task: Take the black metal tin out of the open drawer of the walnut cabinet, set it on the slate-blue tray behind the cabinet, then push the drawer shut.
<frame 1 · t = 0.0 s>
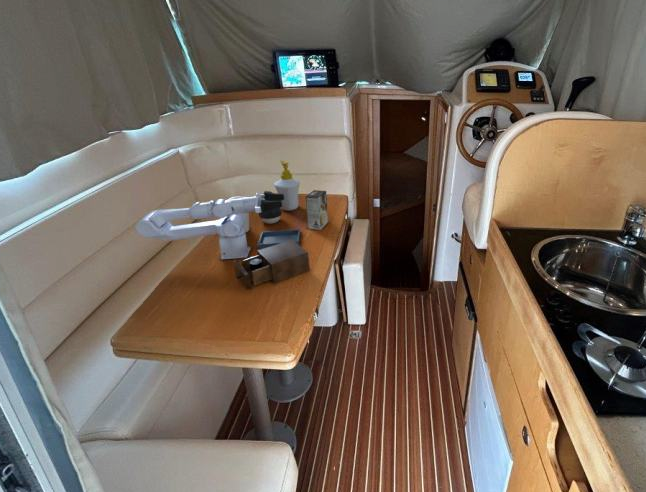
hand: (283, 200, 138), 22 cm above the table, tool horizontal, fingers open, 7 cm apart
coffee cup: (241, 230, 162), on the table
coffee box: (318, 225, 169), on the table
spice tin: (257, 274, 126), point 2 cm above the table, touching drawer
soap bottle: (289, 208, 188), on the table
cabinet: (284, 269, 132), on the table
tray: (280, 240, 154), on the table
drawer: (256, 269, 125), point 4 cm above the table, slide at 7.5 cm, touching spice tin
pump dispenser: (271, 221, 172), on the table
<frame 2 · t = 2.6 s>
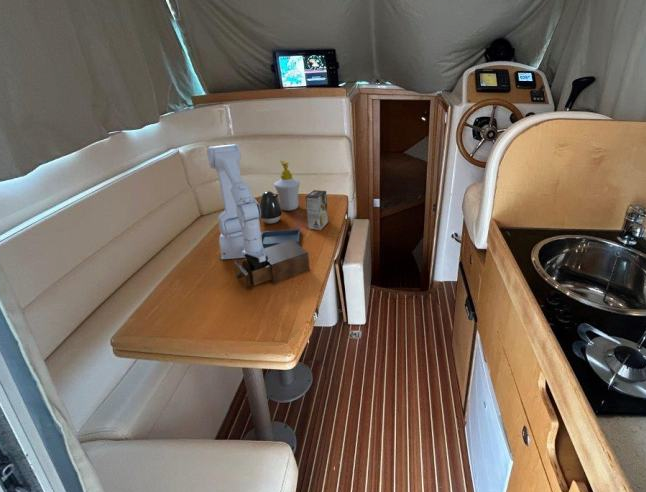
hand: (257, 271, 125), 3 cm above the table, tool pointing down, fingers open, 5 cm apart
drawer: (256, 269, 125), point 4 cm above the table, slide at 7.5 cm, touching gripper, spice tin
everything else where it was.
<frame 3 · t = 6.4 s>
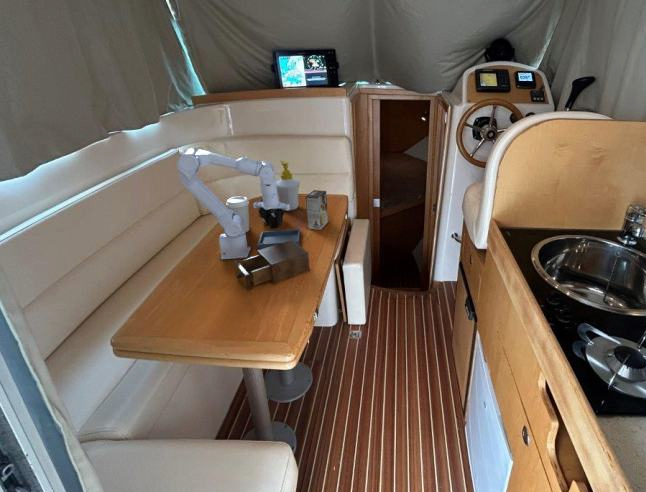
hand: (274, 225, 143), 10 cm above the table, tool pointing down, fingers closed on spice tin, 4 cm apart
spice tin: (274, 226, 144), point 10 cm above the table, touching gripper
drawer: (256, 269, 125), point 4 cm above the table, slide at 7.5 cm
everything else where it was.
when the fingers open (1 cm above the table, at t = 9.7 s): spice tin stays where it is, resting on tray.
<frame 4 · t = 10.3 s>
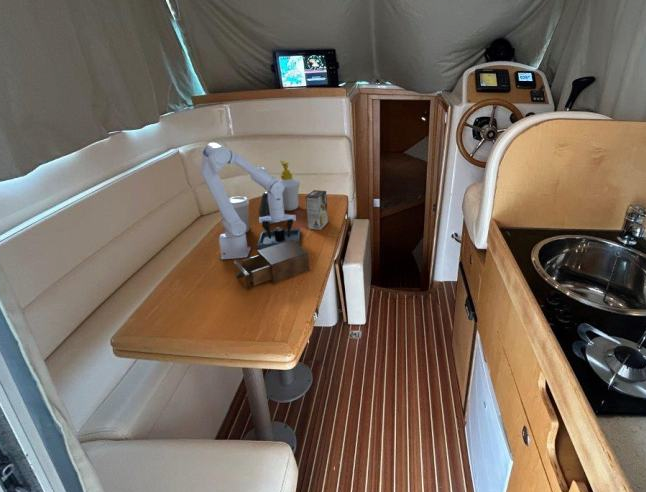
hand: (279, 236, 153), 2 cm above the table, tool pointing down, fingers open, 7 cm apart
spice tin: (280, 239, 154), resting on tray
everything else where it was.
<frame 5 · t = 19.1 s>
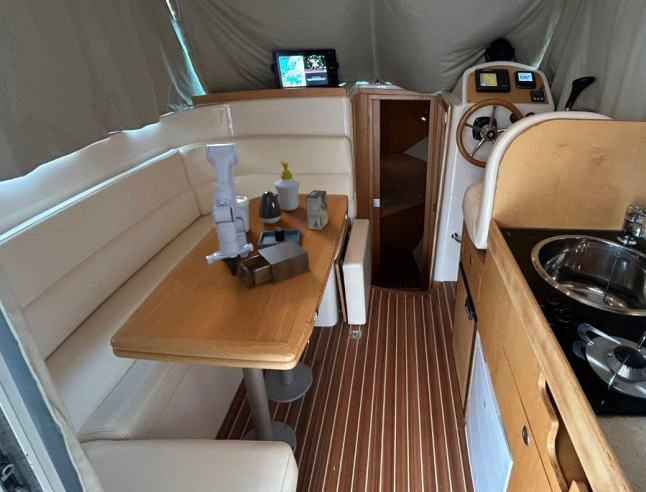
hand: (233, 274, 124), 3 cm above the table, tool pointing down, fingers closed
drawer: (258, 269, 125), point 4 cm above the table, slide at 6.8 cm, touching gripper
everything else where it was.
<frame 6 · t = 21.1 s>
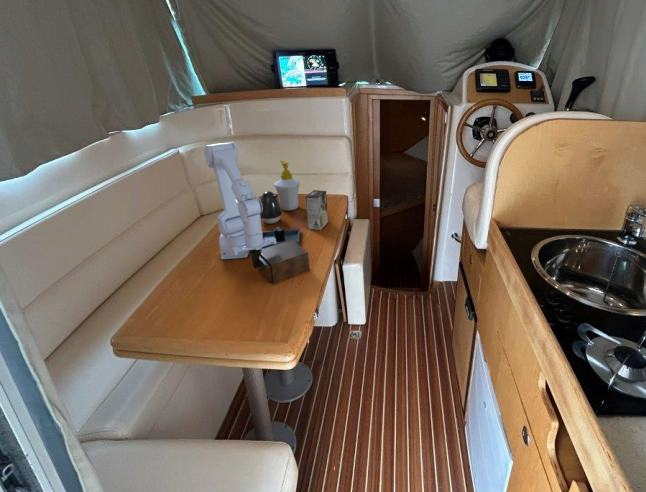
hand: (257, 266, 129), 3 cm above the table, tool pointing down, fingers closed, pressing on drawer
drawer: (277, 262, 130), point 4 cm above the table, slide at 0.0 cm, touching cabinet, gripper
everything else where it was.
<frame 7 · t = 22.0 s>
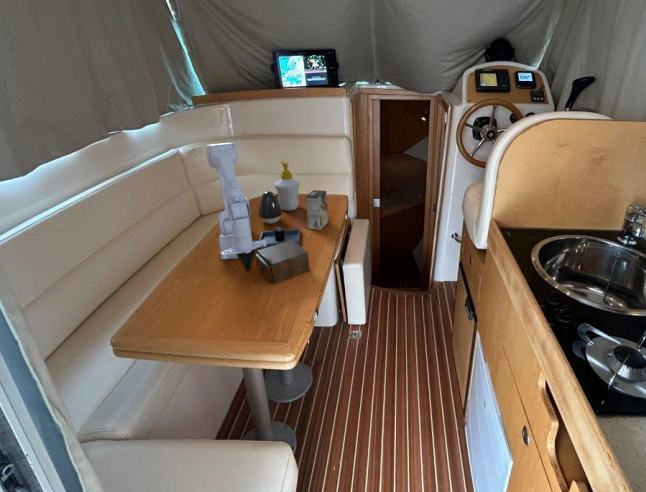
hand: (247, 269, 126), 3 cm above the table, tool pointing down, fingers closed
drawer: (277, 262, 130), point 4 cm above the table, slide at 0.0 cm, touching cabinet
everything else where it was.
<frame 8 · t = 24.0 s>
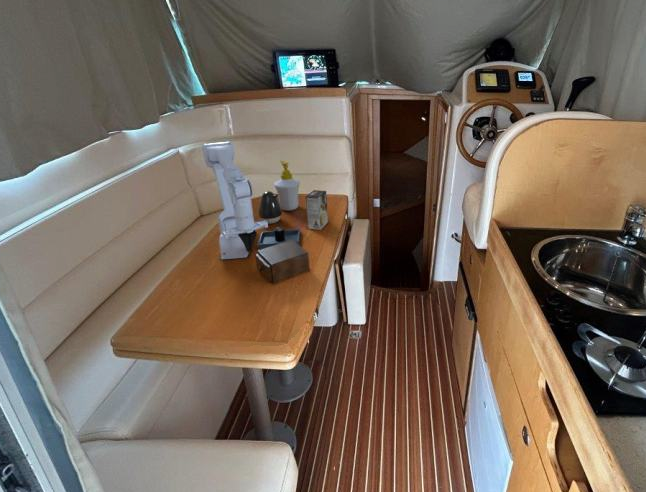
hand: (249, 250, 126), 9 cm above the table, tool pointing down, fingers closed
nothing on the table moved.
at the end: spice tin inside the target area in the tray (0.1 cm from its centre), point 0.5 cm above the tray's base; spice tin tilted 0°; drawer slide at 0.0 cm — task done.
